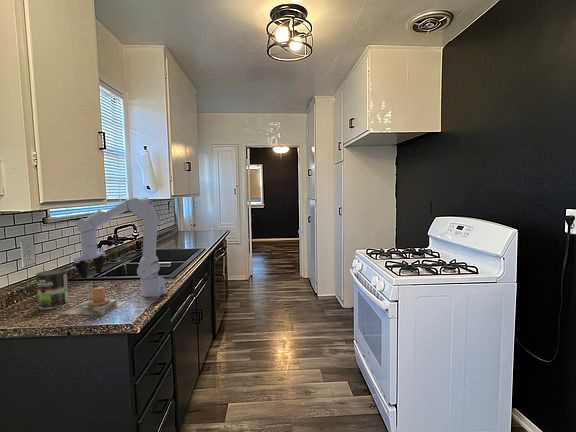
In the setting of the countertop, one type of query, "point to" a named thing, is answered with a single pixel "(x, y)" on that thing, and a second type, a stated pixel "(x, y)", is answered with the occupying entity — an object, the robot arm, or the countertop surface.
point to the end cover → (98, 297)
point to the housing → (93, 308)
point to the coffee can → (52, 288)
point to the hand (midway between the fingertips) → (91, 275)
